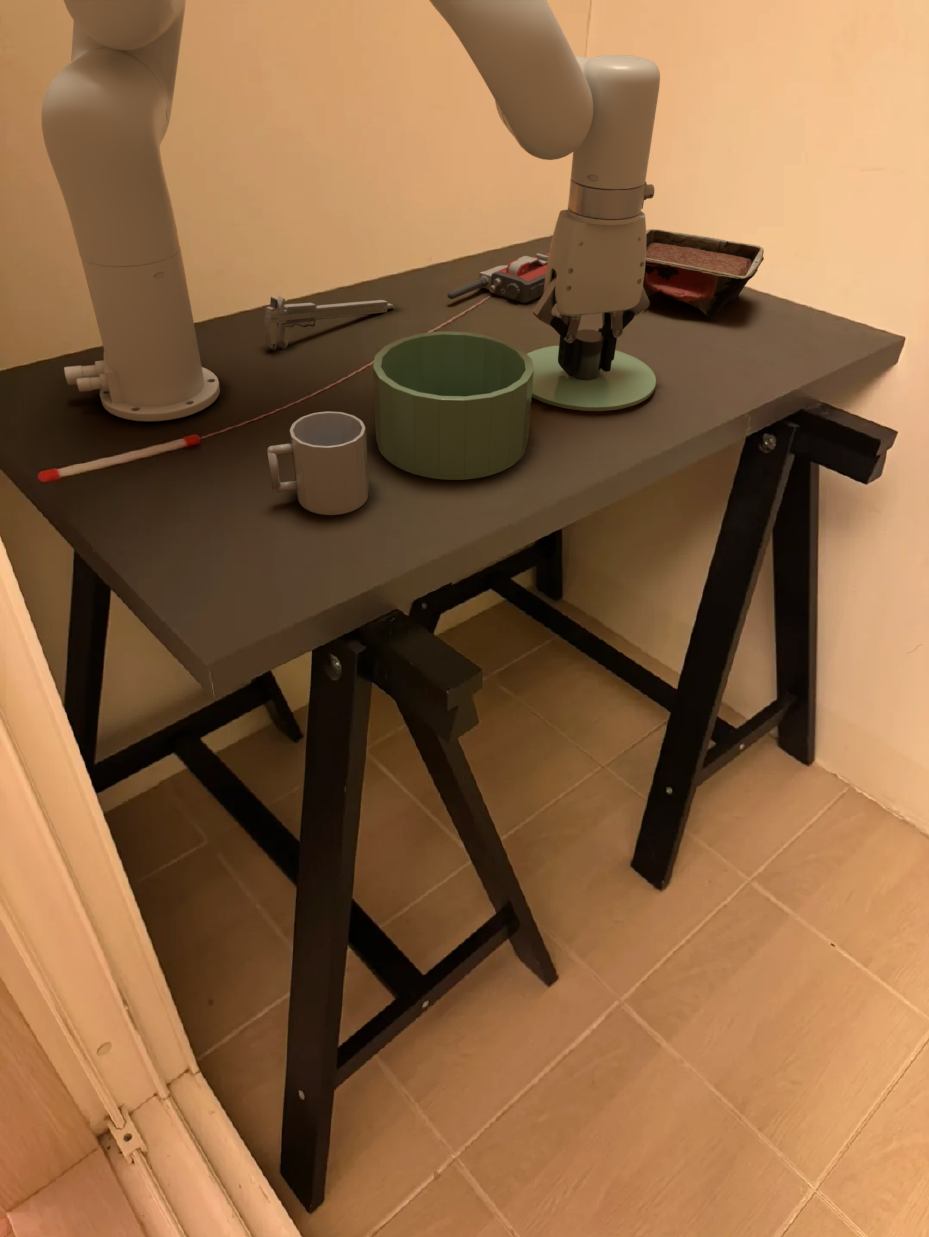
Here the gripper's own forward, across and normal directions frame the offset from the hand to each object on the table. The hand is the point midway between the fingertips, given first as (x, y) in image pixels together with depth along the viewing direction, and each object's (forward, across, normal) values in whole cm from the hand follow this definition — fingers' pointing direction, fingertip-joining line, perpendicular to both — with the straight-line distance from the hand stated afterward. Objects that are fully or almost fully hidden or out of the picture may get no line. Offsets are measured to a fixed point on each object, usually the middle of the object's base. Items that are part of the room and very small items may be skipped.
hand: (584, 367), depth 101 cm
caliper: (+2, +25, -23) cm, 34 cm away
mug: (+2, +34, +16) cm, 38 cm away
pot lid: (+1, 0, 0) cm, 1 cm away
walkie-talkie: (+2, -2, -29) cm, 29 cm away
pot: (+2, +19, +9) cm, 21 cm away
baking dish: (+2, -25, -20) cm, 32 cm away
